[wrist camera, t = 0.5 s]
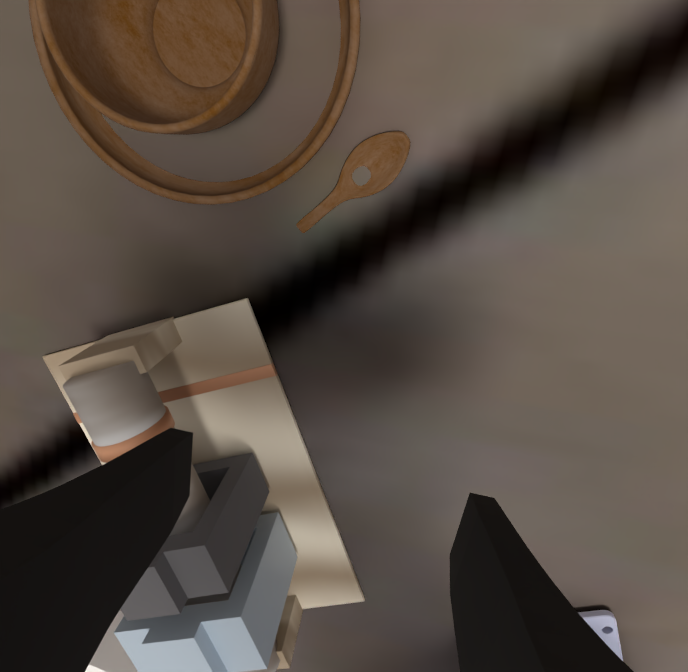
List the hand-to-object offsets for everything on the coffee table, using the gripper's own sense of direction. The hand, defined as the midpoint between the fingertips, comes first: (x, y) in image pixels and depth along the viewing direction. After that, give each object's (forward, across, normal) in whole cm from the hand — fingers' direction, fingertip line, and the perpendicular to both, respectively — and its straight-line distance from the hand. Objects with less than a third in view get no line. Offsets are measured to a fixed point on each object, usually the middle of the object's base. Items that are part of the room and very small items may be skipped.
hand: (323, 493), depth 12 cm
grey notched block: (+10, +6, +9) cm, 15 cm away
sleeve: (+10, +4, +12) cm, 16 cm away
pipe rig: (+10, +6, +9) cm, 15 cm away
